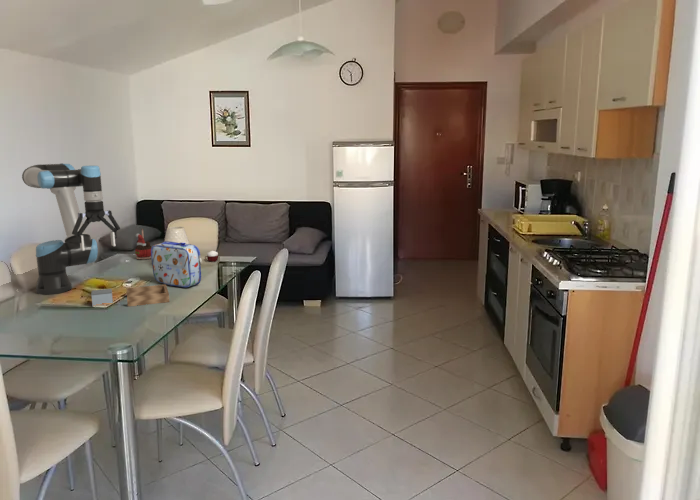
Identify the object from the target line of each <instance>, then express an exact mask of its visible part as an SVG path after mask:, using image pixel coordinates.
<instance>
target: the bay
mask: <svg viewBox="0 0 700 500" xmlns="http://www.w3.org/2000/svg"><path fill="white" fill-rule="evenodd" d="M125 290H126V301H127V307H128V306H129V307H137V305H138V306H145V305H146V304H147V305H154V304H156V305H157V304H164V303H165V304H166V303H170V292H169V289H168V286H167V284H158V285H157V284H155V285H147V286H136V287H135V286H134V287H127V288H126V289H125ZM147 305H146V306H147Z"/></svg>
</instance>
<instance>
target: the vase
mask: <svg viewBox="0 0 700 500" xmlns="http://www.w3.org/2000/svg"><path fill="white" fill-rule="evenodd" d="M166 241H169V242H176V243H185V244H191V243H190V241H189V237H188V235H187V232H186V229H185V227H184V226H169V227H167V228H166V232H165V236H164V241H163V242H166Z"/></svg>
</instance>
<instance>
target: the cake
mask: <svg viewBox="0 0 700 500" xmlns="http://www.w3.org/2000/svg"><path fill="white" fill-rule="evenodd" d="M135 237H136V238H137V241H136V247H135V251H134V253H135V258H136V259H137V260H149V259H152V258H151V248H152V245H151V242H150V241H145V237H144V228H141V234H140V233H136V234H135Z"/></svg>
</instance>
